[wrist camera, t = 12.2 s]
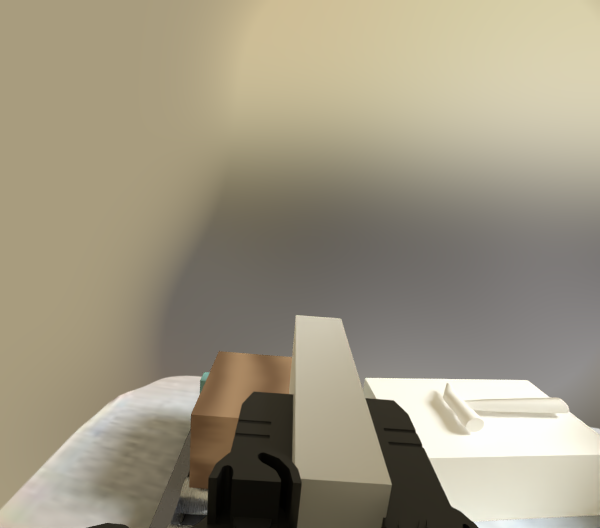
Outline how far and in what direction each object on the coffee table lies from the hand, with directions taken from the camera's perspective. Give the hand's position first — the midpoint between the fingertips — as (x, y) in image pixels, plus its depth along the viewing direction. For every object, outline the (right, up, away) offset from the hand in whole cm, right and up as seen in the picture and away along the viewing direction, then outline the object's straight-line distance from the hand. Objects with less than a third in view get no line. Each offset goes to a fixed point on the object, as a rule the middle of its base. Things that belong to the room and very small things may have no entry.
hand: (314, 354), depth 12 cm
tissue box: (+21, -24, +34) cm, 47 cm away
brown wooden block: (-4, -17, +28) cm, 33 cm away
